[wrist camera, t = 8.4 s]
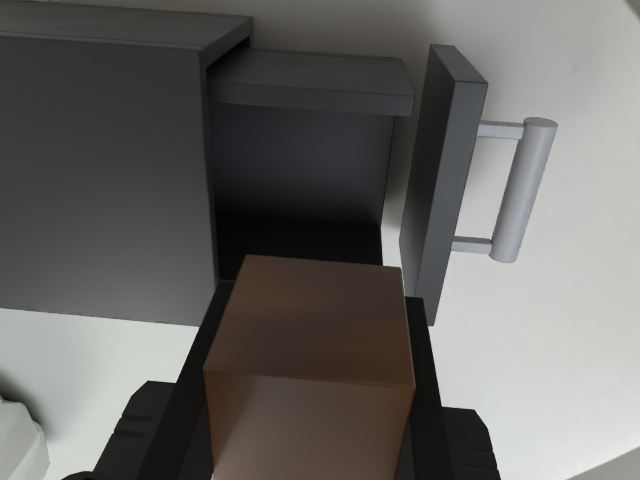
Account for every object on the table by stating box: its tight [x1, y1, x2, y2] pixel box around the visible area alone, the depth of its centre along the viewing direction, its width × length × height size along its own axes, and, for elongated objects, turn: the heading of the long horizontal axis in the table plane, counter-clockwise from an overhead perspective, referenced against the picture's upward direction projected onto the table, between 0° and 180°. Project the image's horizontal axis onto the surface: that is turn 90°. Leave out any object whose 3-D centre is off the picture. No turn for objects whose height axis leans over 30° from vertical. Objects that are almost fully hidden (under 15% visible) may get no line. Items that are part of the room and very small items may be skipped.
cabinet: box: [0, 0, 253, 327], centre depth 24 cm, size 15×13×10 cm
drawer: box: [206, 44, 558, 326], centre depth 24 cm, size 18×11×8 cm, turn 87°
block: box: [203, 254, 416, 480], centre depth 13 cm, size 4×4×4 cm
